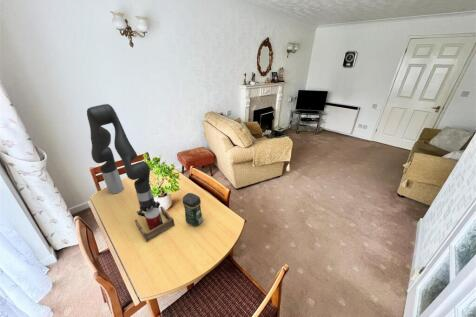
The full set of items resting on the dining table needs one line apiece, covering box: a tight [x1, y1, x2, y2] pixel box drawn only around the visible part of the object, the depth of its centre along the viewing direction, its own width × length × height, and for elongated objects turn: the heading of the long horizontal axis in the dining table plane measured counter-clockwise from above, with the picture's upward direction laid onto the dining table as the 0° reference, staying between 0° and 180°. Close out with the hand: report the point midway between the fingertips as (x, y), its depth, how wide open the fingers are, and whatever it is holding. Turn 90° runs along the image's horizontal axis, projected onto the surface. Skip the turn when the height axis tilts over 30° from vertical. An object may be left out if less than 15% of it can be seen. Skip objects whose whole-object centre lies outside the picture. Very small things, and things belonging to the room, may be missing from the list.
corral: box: [134, 206, 175, 243], centre depth 111 cm, size 14×16×5 cm
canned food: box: [144, 208, 164, 231], centre depth 109 cm, size 8×8×11 cm
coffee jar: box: [182, 192, 204, 227], centre depth 111 cm, size 10×8×19 cm
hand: (151, 219), depth 114 cm, fingers closed
